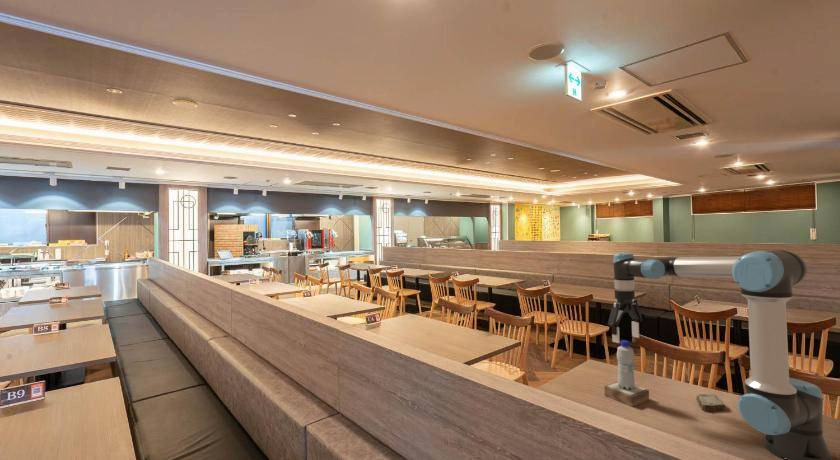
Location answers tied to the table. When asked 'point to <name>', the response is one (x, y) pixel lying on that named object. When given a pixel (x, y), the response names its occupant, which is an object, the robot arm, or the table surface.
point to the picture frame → (627, 394)
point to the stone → (710, 402)
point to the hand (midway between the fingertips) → (626, 339)
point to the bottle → (625, 365)
